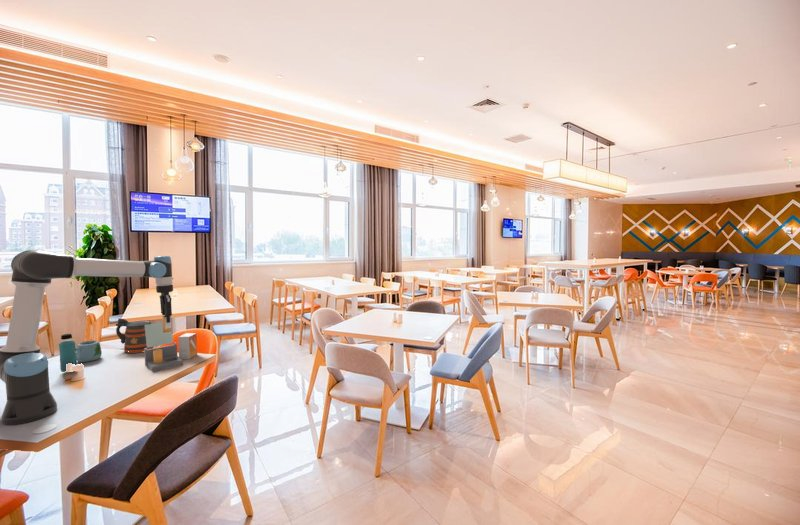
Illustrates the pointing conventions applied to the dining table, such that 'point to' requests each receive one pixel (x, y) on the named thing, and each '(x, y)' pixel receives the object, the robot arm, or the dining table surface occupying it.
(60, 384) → the dining table surface
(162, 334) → the lid
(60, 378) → the dining table surface
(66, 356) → the beverage bottle
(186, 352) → the small box
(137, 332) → the beer stein
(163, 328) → the peg
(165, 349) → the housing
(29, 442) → the dining table surface
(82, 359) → the mug
